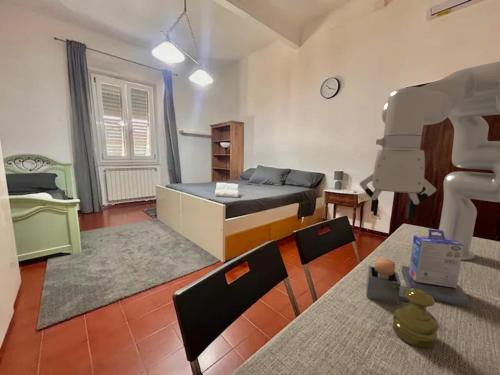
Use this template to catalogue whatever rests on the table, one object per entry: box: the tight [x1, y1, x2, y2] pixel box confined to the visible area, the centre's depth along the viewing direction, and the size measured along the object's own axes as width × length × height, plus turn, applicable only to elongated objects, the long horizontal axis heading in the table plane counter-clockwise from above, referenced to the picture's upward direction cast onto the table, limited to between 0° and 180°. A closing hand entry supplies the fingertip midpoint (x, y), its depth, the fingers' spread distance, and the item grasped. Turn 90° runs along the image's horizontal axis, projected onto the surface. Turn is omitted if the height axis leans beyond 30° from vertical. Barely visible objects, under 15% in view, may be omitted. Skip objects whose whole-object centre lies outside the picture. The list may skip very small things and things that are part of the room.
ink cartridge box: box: [409, 228, 464, 288], centre depth 62 cm, size 10×6×14 cm, turn 75°
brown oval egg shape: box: [374, 257, 396, 280], centre depth 58 cm, size 4×4×6 cm
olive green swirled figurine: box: [392, 288, 440, 350], centre depth 46 cm, size 7×7×10 cm
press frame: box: [365, 265, 470, 309], centre depth 62 cm, size 21×22×6 cm
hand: (391, 216), depth 56 cm, fingers open, 6 cm apart
